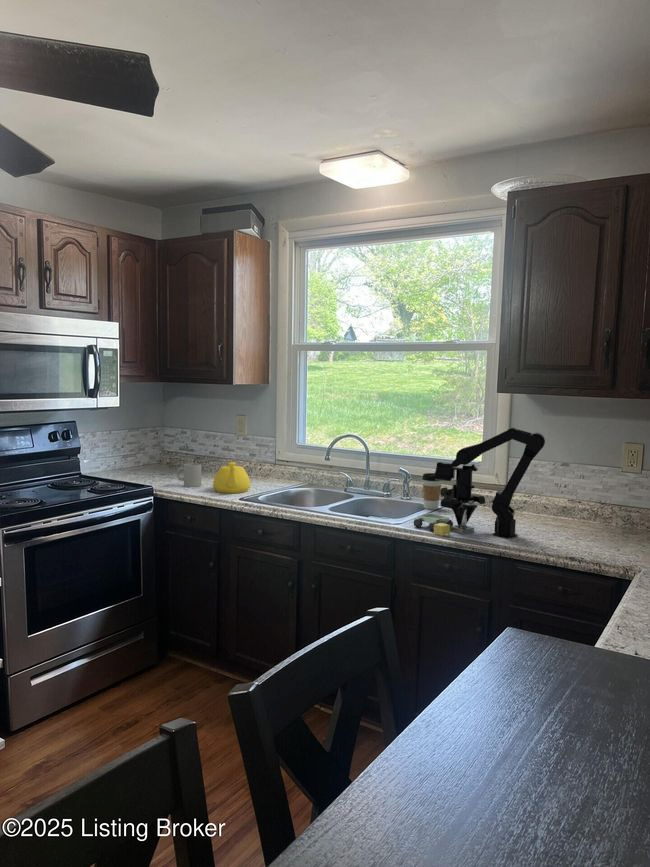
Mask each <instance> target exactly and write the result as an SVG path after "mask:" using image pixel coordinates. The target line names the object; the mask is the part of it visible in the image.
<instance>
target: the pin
mask: <svg viewBox="0 0 650 867" xmlns="http://www.w3.org/2000/svg"><path fill="white" fill-rule="evenodd" d="M466 522H467V510H466V509H465V512H464V516H463V519H462V523H461V525H458V524H457V525H458V528H462V529H464V528H466V526H467V524H466ZM467 523H468V522H467Z"/></svg>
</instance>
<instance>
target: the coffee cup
mask: <svg viewBox="0 0 650 867" xmlns="http://www.w3.org/2000/svg"><path fill="white" fill-rule="evenodd" d="M421 479H422V482H423V483H422V490H423V491H422V492H423V495H422V496H423V508H424V509H426V510H438V509H439V504H440V503H439V502H440V497H441V495H440V491H441V488H442V483H441V482H442V481H439V480H435V472H434V473H433V472H432V473H430V472H429V473H428V472H427V473H423V474H422V477H421Z"/></svg>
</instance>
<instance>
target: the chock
mask: <svg viewBox="0 0 650 867" xmlns="http://www.w3.org/2000/svg"><path fill="white" fill-rule="evenodd" d="M450 532H451V531H450V525H448V524H444V523H438V524H434V532H433V534H434V533H435V534H434V535H437V534H438V536H442V537H443V535H444V536H447V535H446V534H449V535H450V534H451V533H450Z"/></svg>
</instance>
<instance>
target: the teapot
mask: <svg viewBox="0 0 650 867" xmlns="http://www.w3.org/2000/svg"><path fill="white" fill-rule="evenodd" d="M236 464H237V462H235V461H233V462H228V465H224V466H221V467H220V468H219V469H218V470H217V472H216V474H215V476H214V479H213V483H212V486H213V489H214V490H215V491H216V492H217V493H220V492H221V494H242V492H243V493H247V491H248V490H249V489H250V488H251V480H250V477H249V474H248V473H247V470H245V469H244V467H243V466H241V465H236Z"/></svg>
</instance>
